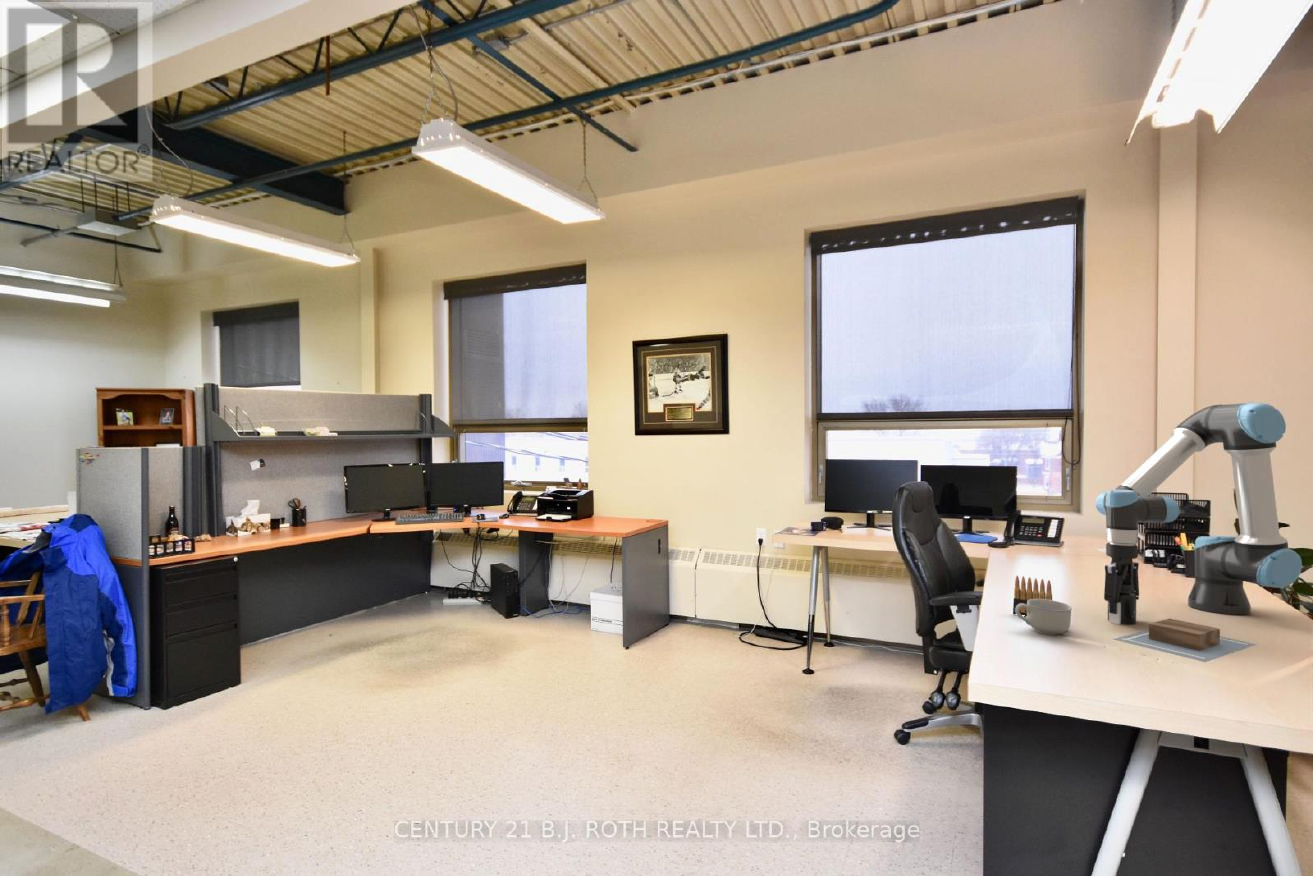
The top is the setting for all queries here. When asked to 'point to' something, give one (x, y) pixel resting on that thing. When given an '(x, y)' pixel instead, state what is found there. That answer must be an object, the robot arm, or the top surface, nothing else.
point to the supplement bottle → (1127, 605)
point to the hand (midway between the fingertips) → (1121, 622)
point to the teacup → (1046, 616)
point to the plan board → (1202, 655)
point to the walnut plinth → (1184, 634)
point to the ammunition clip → (1029, 593)
